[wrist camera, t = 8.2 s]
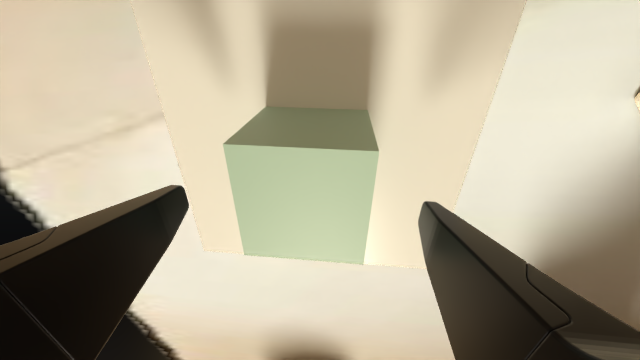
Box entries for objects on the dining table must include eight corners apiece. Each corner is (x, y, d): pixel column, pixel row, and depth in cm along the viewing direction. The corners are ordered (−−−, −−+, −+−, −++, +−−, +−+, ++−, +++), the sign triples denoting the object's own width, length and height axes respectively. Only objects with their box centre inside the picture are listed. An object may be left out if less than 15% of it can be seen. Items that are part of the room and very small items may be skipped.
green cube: (358, 196, 15) (363, 264, 10) (273, 191, 15) (244, 254, 11) (367, 110, 12) (379, 151, 8) (265, 106, 12) (222, 144, 8)
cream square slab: (421, 238, 20) (432, 269, 17) (222, 223, 21) (204, 250, 18) (497, -24, 12) (540, -41, 9) (164, -24, 13) (118, -40, 10)
